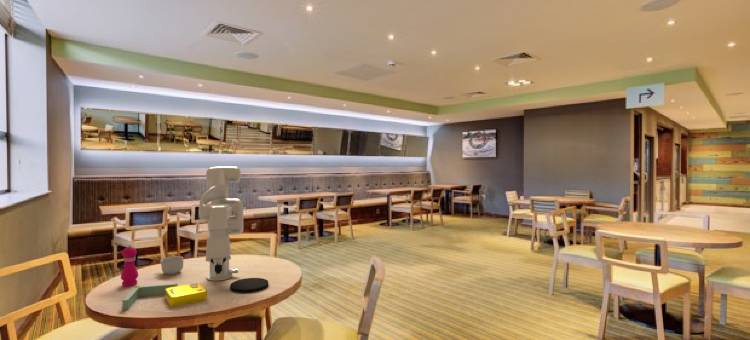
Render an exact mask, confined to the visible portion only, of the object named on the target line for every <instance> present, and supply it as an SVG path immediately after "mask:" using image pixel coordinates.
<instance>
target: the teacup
mask: <svg viewBox="0 0 750 340" xmlns="http://www.w3.org/2000/svg"><path fill="white" fill-rule="evenodd" d="M159 263H160V267H161V271H162V272H163V274H165V275H169V276H170V275H176V274H179V273H180V272H181V271H182V270H183V269H184V257H183V256H181V255H175V256H174V255H173V256H168V257H161V258H160V261H159Z"/></svg>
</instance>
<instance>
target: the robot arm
mask: <svg viewBox="0 0 750 340" xmlns="http://www.w3.org/2000/svg"><path fill="white" fill-rule="evenodd" d="M205 174H206V175H205V176H206V181H207V185H208V187H209V189H207V191H205V192H204V193H203V194H202V196H201V197H200V200H199V204H198V205H199V206H198V216H199V219H201V220H202V221H208V222H207V230H208V231H207V233H208V236H207V237H206V238H207V240H206V247H205V251H206V252H205V261H206V262H208V263H209V274H207V275H206V280H207V281H214V282H215V281H216V282H217V281H225V280H228V279H231V278H232V277H233V274H238V273H239V269H238V268H231V266H230V260H231V259H232V256H231V239H230V236H236V235H241V234H242V233H243V232H244V207H243V206H244V205H243V202H242V200H241V199H240V198H229V183H239V182H240V181H241V179H242V178H241V177H242V173H241V169H240V167H239V166H233V165H231V166H223V165H222V166H212V167H209V168H208V169H206V173H205ZM210 203H211V204H210Z"/></svg>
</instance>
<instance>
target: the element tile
mask: <svg viewBox="0 0 750 340" xmlns="http://www.w3.org/2000/svg"><path fill="white" fill-rule="evenodd" d="M207 298H208V290H207V288H206V287H205V286H204V285H203V284H202V283H200V282H194V283H187V284H182V285H181V284H180V285H178V286H176V287H170V288H166V289H165V294H164V299H165V301H166V302H167V304H168V306H169V307H178V306H182V305H188V304H193V303H197V302H203V301H206V300H207Z"/></svg>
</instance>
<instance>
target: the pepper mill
mask: <svg viewBox="0 0 750 340" xmlns="http://www.w3.org/2000/svg"><path fill="white" fill-rule="evenodd" d="M132 246H133V245H132V244H128V245H127V247H125V248H124V249H123V250H122V253H121V255H122V257H123V262H124V267H123V269H122V271H121V274H120V279H121V281H122V282H121V286H122V287H124V288H128V287H133V286H134V287H135V286H136V285H137V284H138V280H137V279H138V277H139V271H138V269H137V267H136V265H135V261H136V256H137V253H138V251H137V248H135V247H132Z"/></svg>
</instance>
